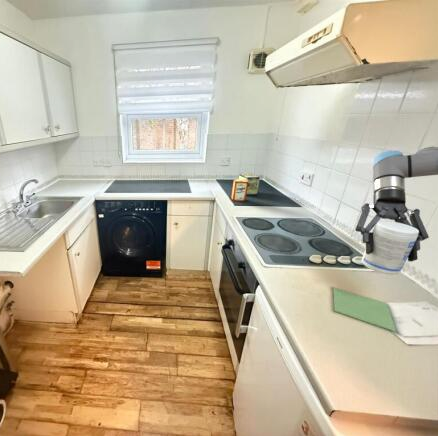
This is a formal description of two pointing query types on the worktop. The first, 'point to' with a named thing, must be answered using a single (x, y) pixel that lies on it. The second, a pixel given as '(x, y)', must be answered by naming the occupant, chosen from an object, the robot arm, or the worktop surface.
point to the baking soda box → (239, 190)
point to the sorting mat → (363, 309)
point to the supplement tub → (390, 247)
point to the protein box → (251, 183)
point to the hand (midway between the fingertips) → (390, 256)
